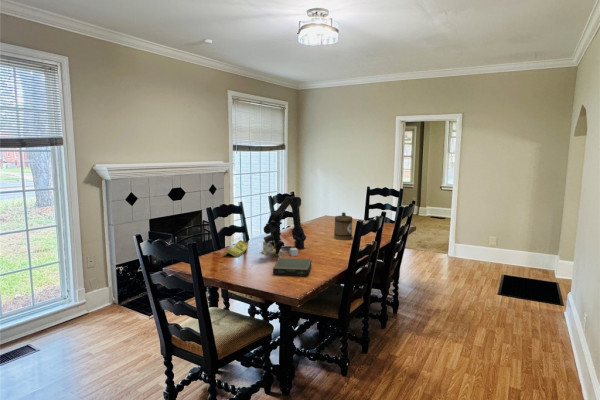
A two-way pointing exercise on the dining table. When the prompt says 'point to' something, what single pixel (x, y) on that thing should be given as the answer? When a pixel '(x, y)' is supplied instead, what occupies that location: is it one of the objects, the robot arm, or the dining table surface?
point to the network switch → (292, 267)
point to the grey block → (293, 251)
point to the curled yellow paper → (237, 249)
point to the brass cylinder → (275, 252)
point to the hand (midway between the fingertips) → (276, 253)
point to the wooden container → (343, 227)
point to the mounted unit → (269, 248)
